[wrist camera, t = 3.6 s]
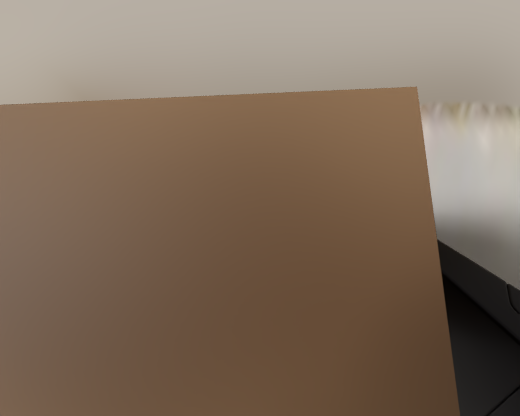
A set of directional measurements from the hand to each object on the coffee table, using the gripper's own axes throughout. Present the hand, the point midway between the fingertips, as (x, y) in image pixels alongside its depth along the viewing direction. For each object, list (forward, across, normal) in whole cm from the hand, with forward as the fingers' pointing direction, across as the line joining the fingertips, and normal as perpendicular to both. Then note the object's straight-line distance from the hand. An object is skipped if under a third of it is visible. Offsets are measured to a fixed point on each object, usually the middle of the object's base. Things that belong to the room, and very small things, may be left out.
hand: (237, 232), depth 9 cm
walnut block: (+4, 0, +6) cm, 7 cm away
